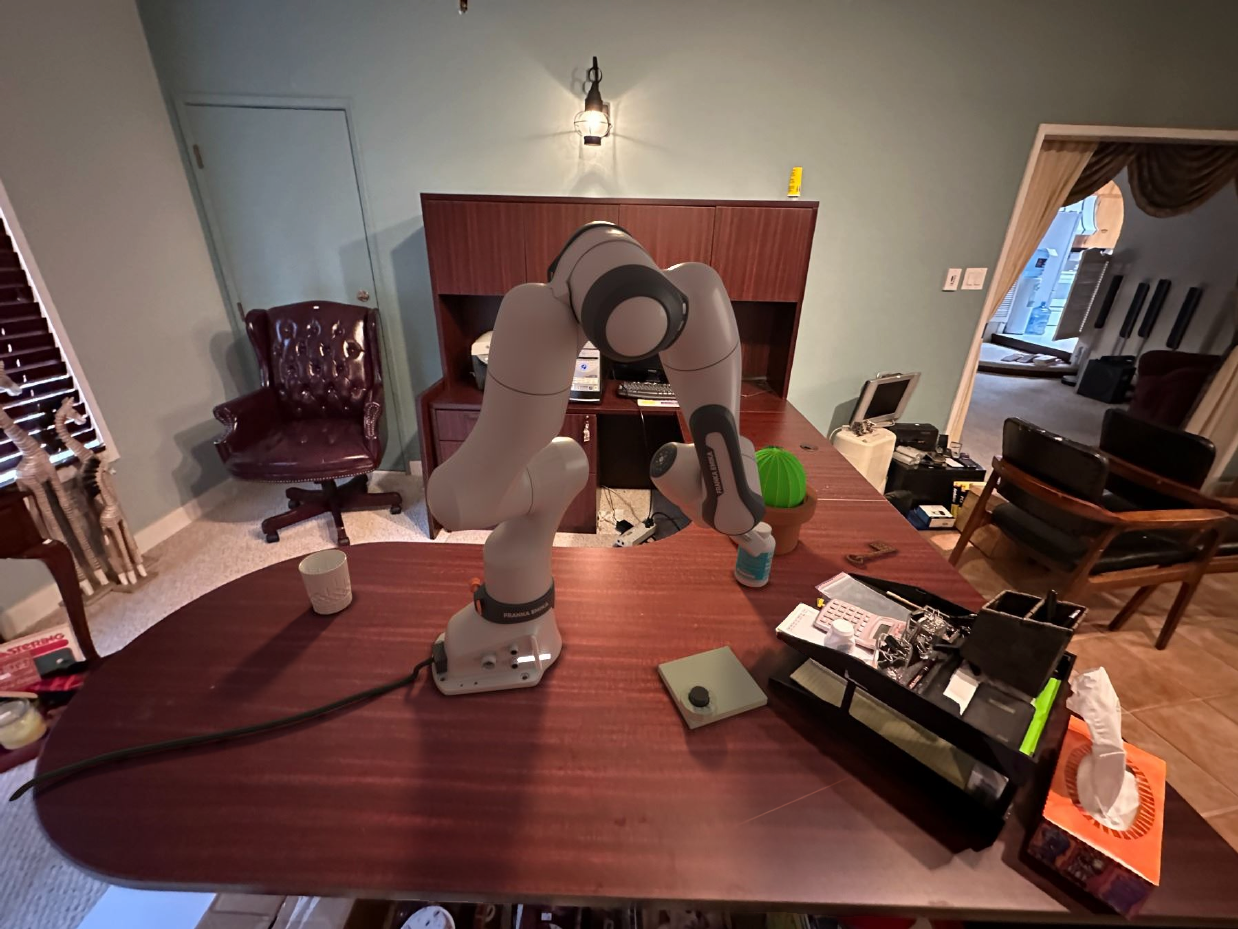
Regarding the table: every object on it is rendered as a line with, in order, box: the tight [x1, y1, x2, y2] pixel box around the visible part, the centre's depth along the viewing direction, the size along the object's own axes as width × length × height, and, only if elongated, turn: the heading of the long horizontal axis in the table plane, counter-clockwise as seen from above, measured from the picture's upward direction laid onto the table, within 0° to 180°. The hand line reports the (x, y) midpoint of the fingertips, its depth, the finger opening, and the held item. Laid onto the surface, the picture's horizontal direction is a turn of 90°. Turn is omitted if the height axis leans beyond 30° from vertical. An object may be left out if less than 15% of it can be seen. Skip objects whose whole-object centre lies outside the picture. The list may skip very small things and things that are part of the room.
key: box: [846, 541, 897, 565], centre depth 121 cm, size 6×1×15 cm
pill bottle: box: [733, 522, 775, 588], centre depth 108 cm, size 8×7×14 cm
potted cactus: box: [729, 444, 819, 556], centre depth 121 cm, size 22×22×25 cm
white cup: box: [298, 549, 353, 615], centre depth 96 cm, size 8×8×10 cm
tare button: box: [690, 686, 709, 708], centre depth 77 cm, size 3×3×2 cm
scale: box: [657, 645, 768, 730], centre depth 82 cm, size 14×12×3 cm
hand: (742, 537), depth 103 cm, fingers open, 8 cm apart
